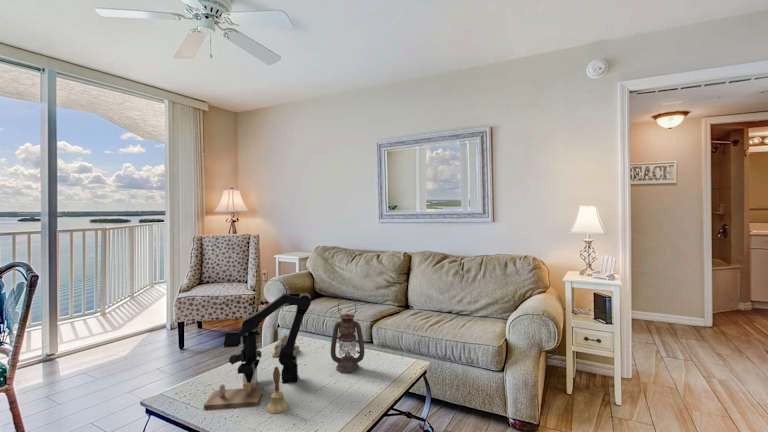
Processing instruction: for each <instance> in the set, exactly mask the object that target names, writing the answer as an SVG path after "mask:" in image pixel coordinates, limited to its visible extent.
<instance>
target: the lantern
mask: <svg viewBox="0 0 768 432" xmlns="http://www.w3.org/2000/svg"><path fill="white" fill-rule="evenodd" d="M342 298H353V300H354V303H355V304H354V305H355V306H354V307H357V302H356V299H355V297H354V296H350V295H349V296H348V295H347V296H346V295H345V296H341V297H340V298H339V299H338V303H337V304H338V305H337V311H338V314H339V315H340V316H339V319H341V320H339V321H336V323H335V324H334V326H333V329H332V330H333V331H332V335H331V342H330V357H331V360H332V361H334V362H335V363H337V364H336V368H335V370H336V372H338V371H339V372H338V373H340V372H341V373H340V374H346V373H347V374H352V372H354V373H356V372H358V371H359V370H358V369H360V365H359V363H360V362H361V361H363V359H364V356H365V344H364V343H365V342H364V336H363V330H362V326H361V324H360V323H359V322H358V321H356V320H354V319H355V317H356V316H355V314H356V312H357V308H355V310H354V313H353V314H349V313H345V314H343V313H342V314H341V313H340V309H339V307H340V302H341V301H340V300H341V299H342ZM338 333H339V334H340V335H339V336H338ZM354 333H356V334H357V336H356V334H354ZM356 337H357V338H356ZM357 339H358V341H357ZM337 340H338V344H339V345H338V348H339V351H338V354H339V355H340V357H339V356H337V354H336V349H337V348H336V347H337ZM340 342H341V343H340ZM357 342H358V347H359V348H358V349H359V350H357V351H356V347H357V344H356V343H357ZM356 354H359V355H358V356H357V357H355V356H356ZM342 355H343V356H342ZM357 370H358V371H357ZM355 371H356V372H355Z"/></svg>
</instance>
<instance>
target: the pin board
mask: <svg viewBox="0 0 768 432" xmlns="http://www.w3.org/2000/svg"><path fill="white" fill-rule="evenodd" d="M225 385H226V384H223V383H222V384H219V387H218V388H219V389H215V390H213V392H211V394H210V396H209V397H208V399H207V400H206V402H205V403H204V404H203V410H212V409H224V408H225V409H226V408H227V409H228V408H237V407H238V408H239V407H241V408H242V407H253V406H256V407H257V406H259V403H260V401H261V398H262V396H263V393H264V389H265V388H264V386H263V387H262V386H261V387H251V385H250V383H246V385H245V387H243V388H231V389H226V386H225Z"/></svg>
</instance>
